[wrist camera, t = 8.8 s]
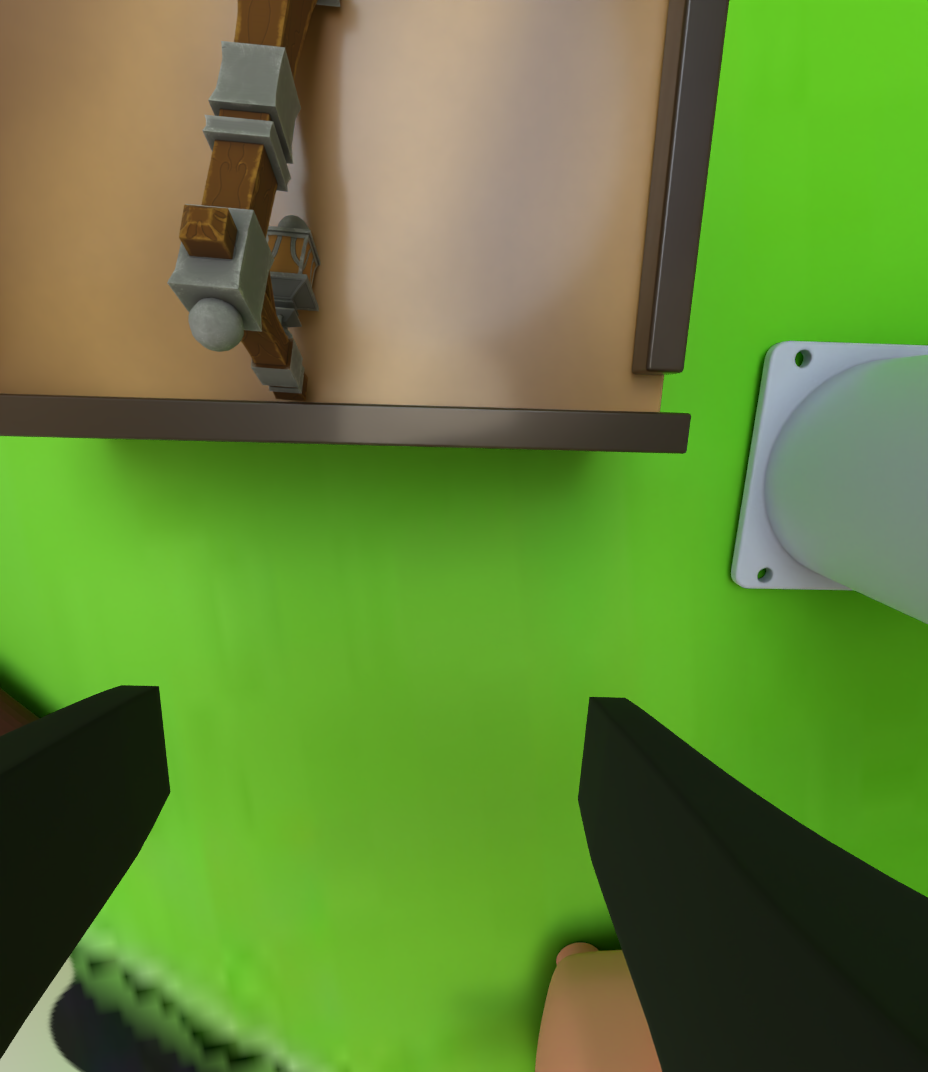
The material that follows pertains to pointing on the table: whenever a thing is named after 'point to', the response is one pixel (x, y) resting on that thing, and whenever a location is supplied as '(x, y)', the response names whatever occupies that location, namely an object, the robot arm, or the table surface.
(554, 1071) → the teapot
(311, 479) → the table surface
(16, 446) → the table surface
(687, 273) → the shallow wooden tray
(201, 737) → the table surface
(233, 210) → the wooden post with brackets
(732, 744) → the table surface
